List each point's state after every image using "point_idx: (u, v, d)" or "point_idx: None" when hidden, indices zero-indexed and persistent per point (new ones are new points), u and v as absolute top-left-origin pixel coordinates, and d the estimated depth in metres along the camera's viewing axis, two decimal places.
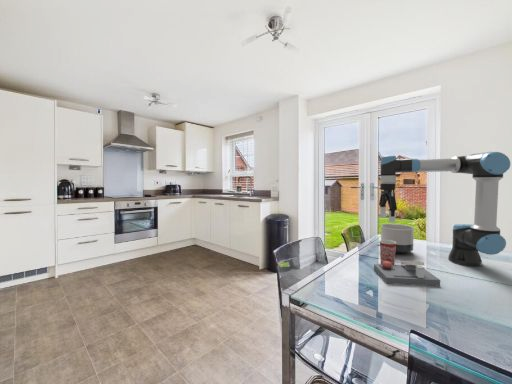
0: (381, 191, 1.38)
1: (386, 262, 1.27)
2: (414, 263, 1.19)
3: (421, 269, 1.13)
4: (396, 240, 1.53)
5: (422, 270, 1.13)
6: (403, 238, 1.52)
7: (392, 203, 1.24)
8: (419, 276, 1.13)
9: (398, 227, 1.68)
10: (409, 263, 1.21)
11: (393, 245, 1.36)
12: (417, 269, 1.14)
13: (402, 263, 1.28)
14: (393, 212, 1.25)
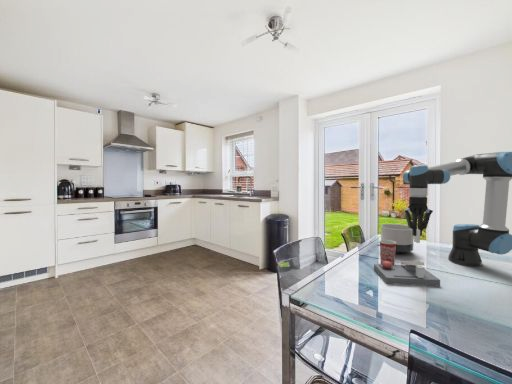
0: None
1: (386, 262, 1.27)
2: (414, 263, 1.19)
3: (421, 269, 1.13)
4: (396, 240, 1.53)
5: (422, 270, 1.13)
6: (403, 238, 1.52)
7: (407, 221, 1.19)
8: (419, 276, 1.13)
9: (398, 227, 1.68)
10: (409, 263, 1.21)
11: (393, 245, 1.36)
12: (417, 269, 1.14)
13: (402, 263, 1.28)
14: (413, 231, 1.18)
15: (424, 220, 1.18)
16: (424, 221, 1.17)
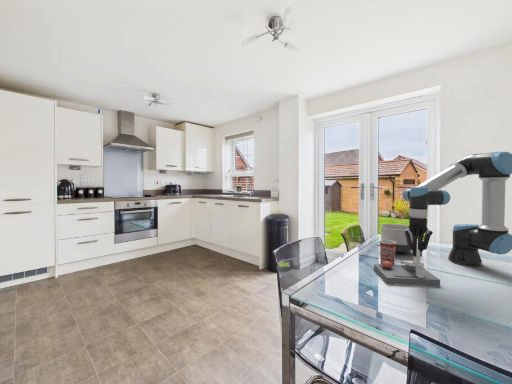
0: None
1: (386, 262, 1.27)
2: (414, 264, 1.18)
3: (421, 269, 1.13)
4: (396, 240, 1.53)
5: (422, 270, 1.13)
6: (403, 238, 1.52)
7: (407, 242, 1.19)
8: (419, 276, 1.13)
9: (398, 227, 1.68)
10: (409, 264, 1.20)
11: (393, 245, 1.36)
12: (417, 269, 1.14)
13: (402, 262, 1.28)
14: (413, 251, 1.19)
15: (424, 241, 1.18)
16: (424, 241, 1.17)
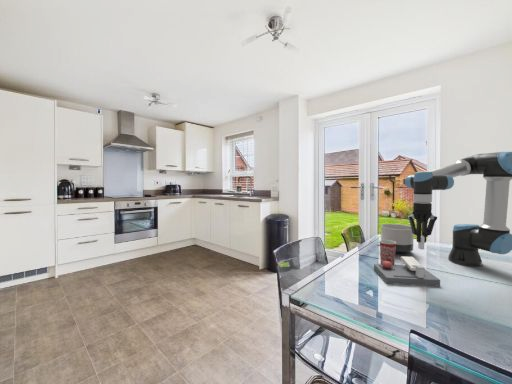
0: None
1: (386, 262, 1.27)
2: (414, 269, 1.18)
3: (421, 269, 1.13)
4: (396, 240, 1.53)
5: (422, 270, 1.13)
6: (403, 238, 1.52)
7: (411, 228, 1.18)
8: (419, 276, 1.13)
9: (398, 227, 1.68)
10: (409, 267, 1.21)
11: (393, 245, 1.36)
12: (417, 269, 1.14)
13: (402, 259, 1.28)
14: (417, 237, 1.17)
15: (428, 226, 1.16)
16: (429, 227, 1.16)
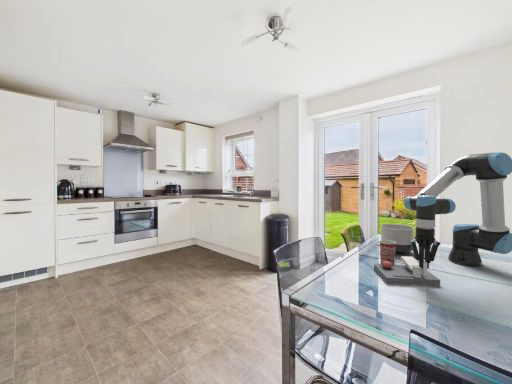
0: (435, 241, 1.13)
1: (386, 262, 1.27)
2: None
3: (418, 269, 1.13)
4: (396, 240, 1.53)
5: (419, 270, 1.13)
6: (403, 237, 1.52)
7: (414, 253, 1.15)
8: (416, 276, 1.14)
9: (398, 227, 1.68)
10: (409, 267, 1.21)
11: (393, 245, 1.36)
12: (414, 269, 1.15)
13: (402, 259, 1.28)
14: (420, 263, 1.14)
15: (431, 252, 1.13)
16: (432, 253, 1.13)
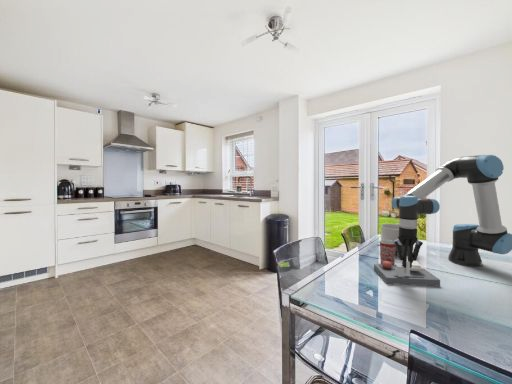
0: (418, 241, 1.15)
1: (386, 262, 1.27)
2: (414, 269, 1.18)
3: (401, 268, 1.14)
4: None
5: (402, 269, 1.14)
6: None
7: (397, 252, 1.16)
8: (399, 275, 1.15)
9: (398, 227, 1.68)
10: None
11: (393, 245, 1.36)
12: (397, 268, 1.16)
13: None
14: (403, 262, 1.15)
15: (414, 252, 1.14)
16: (414, 252, 1.14)
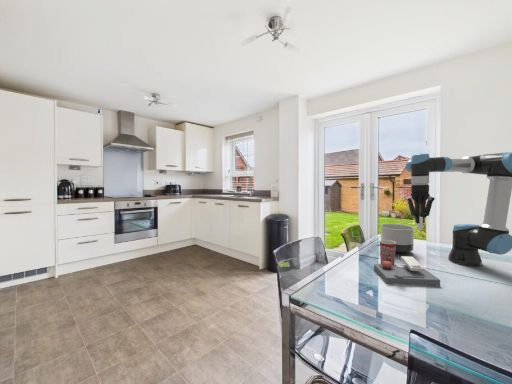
0: None
1: (386, 262, 1.27)
2: (414, 269, 1.18)
3: (400, 268, 1.14)
4: (396, 240, 1.53)
5: (401, 269, 1.14)
6: (403, 238, 1.52)
7: (410, 209, 1.21)
8: (399, 275, 1.15)
9: (398, 227, 1.68)
10: (409, 267, 1.21)
11: (393, 245, 1.36)
12: (397, 268, 1.16)
13: (402, 259, 1.28)
14: (416, 218, 1.20)
15: (426, 207, 1.20)
16: (427, 208, 1.19)
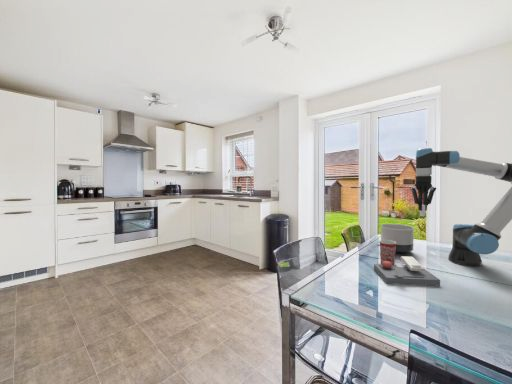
0: None
1: (386, 262, 1.27)
2: (414, 269, 1.18)
3: (400, 268, 1.14)
4: (396, 240, 1.53)
5: (401, 269, 1.14)
6: (403, 237, 1.52)
7: (414, 198, 1.36)
8: (399, 275, 1.15)
9: (398, 227, 1.68)
10: (409, 267, 1.21)
11: (393, 245, 1.36)
12: (397, 268, 1.16)
13: (402, 259, 1.28)
14: (419, 206, 1.35)
15: (429, 196, 1.34)
16: (429, 197, 1.34)
